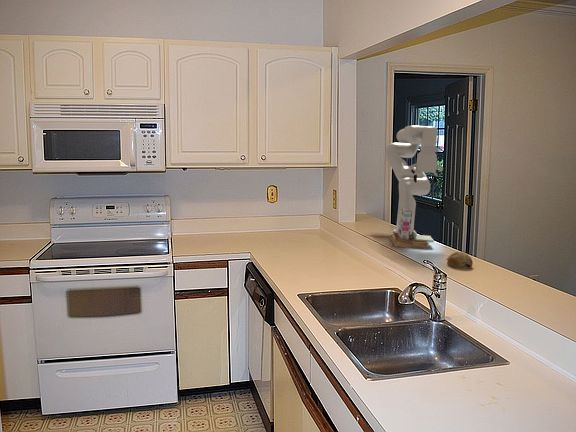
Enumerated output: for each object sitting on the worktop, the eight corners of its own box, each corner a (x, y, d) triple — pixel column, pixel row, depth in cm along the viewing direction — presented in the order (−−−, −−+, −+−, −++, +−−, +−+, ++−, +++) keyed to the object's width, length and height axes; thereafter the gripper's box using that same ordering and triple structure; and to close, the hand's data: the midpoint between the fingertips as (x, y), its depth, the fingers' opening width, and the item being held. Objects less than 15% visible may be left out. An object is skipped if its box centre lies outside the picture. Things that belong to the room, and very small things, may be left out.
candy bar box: (409, 243, 269) (412, 211, 266) (399, 243, 269) (402, 210, 267) (407, 240, 280) (410, 208, 277) (397, 239, 280) (400, 207, 278)
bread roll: (455, 277, 225) (464, 262, 222) (439, 262, 232) (447, 247, 229) (471, 275, 231) (480, 260, 227) (455, 260, 238) (463, 245, 234)
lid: (411, 235, 280) (411, 229, 280) (429, 237, 279) (430, 230, 279) (413, 240, 267) (414, 233, 266) (433, 242, 266) (434, 235, 265)
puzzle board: (391, 239, 284) (392, 233, 283) (422, 242, 282) (423, 235, 282) (394, 246, 266) (394, 238, 266) (427, 249, 264) (428, 241, 264)
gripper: (443, 151, 286) (440, 183, 289) (410, 149, 288) (407, 181, 291) (446, 151, 279) (442, 184, 281) (411, 149, 281) (408, 182, 283)
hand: (424, 183), depth 286 cm, fingers open, 9 cm apart
